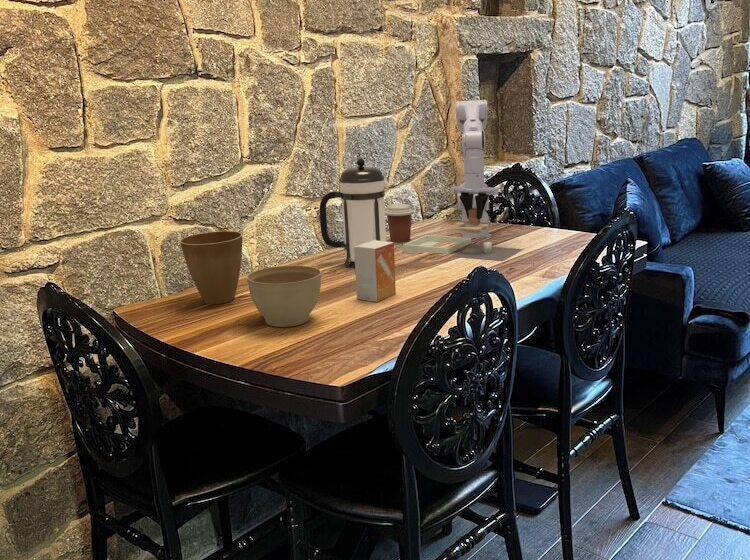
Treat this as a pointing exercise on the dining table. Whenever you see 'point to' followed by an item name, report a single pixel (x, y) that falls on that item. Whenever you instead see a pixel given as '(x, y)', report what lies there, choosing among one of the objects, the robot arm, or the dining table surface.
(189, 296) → the dining table surface
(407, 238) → the coffee cup
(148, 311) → the dining table surface
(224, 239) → the plant pot
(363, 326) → the dining table surface
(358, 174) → the coffee press
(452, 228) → the tan square frame
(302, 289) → the planter bowl
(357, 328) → the dining table surface
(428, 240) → the sage tray
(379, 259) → the small box
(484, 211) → the robot arm
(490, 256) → the stake board
